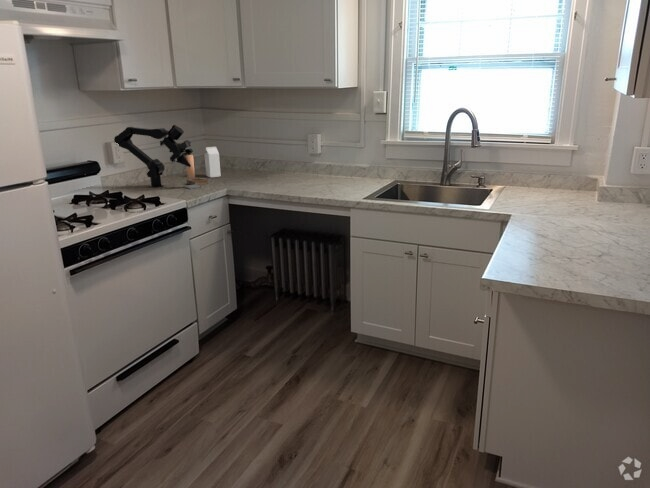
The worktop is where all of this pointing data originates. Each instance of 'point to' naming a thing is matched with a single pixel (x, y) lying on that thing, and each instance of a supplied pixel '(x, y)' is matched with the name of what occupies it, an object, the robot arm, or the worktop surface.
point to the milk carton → (212, 162)
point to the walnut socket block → (197, 181)
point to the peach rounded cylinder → (190, 169)
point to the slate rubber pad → (192, 186)
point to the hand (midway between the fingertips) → (192, 165)
